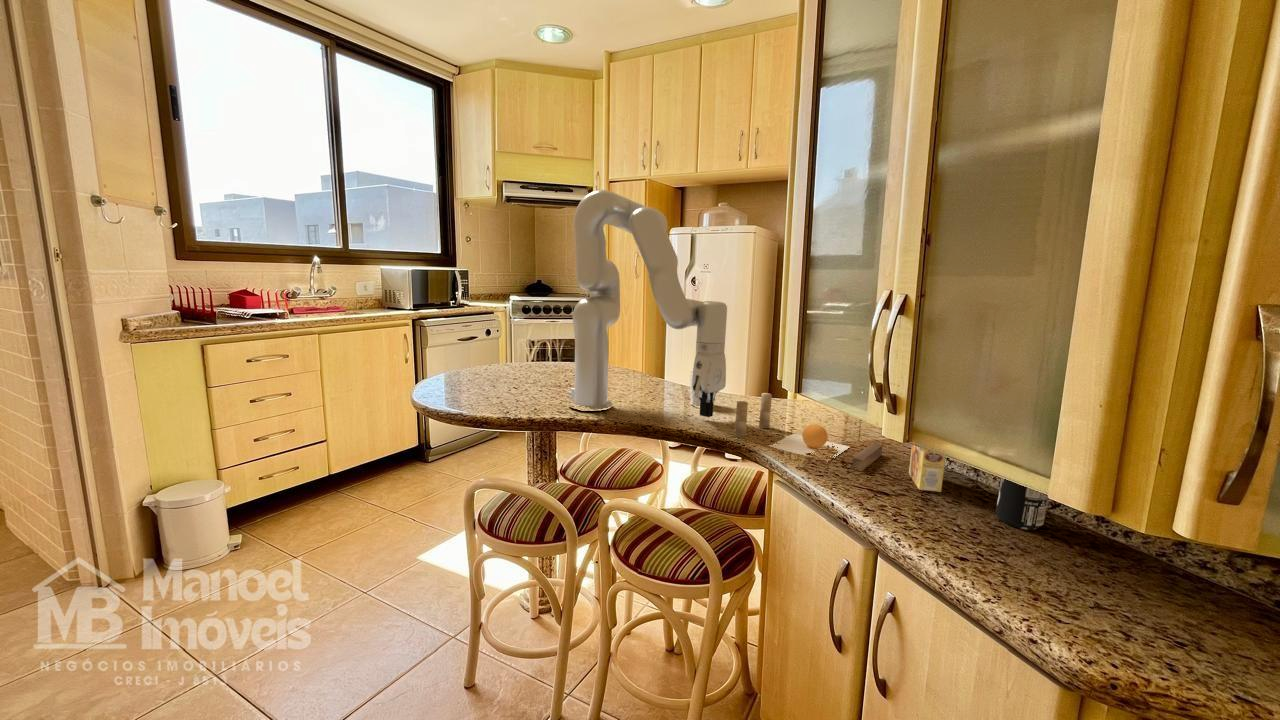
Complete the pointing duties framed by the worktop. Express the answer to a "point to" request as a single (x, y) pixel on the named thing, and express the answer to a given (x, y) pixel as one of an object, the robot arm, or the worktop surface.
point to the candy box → (926, 469)
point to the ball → (814, 436)
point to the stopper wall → (867, 456)
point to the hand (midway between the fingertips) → (706, 415)
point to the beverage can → (1020, 506)
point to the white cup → (693, 399)
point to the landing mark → (804, 445)
